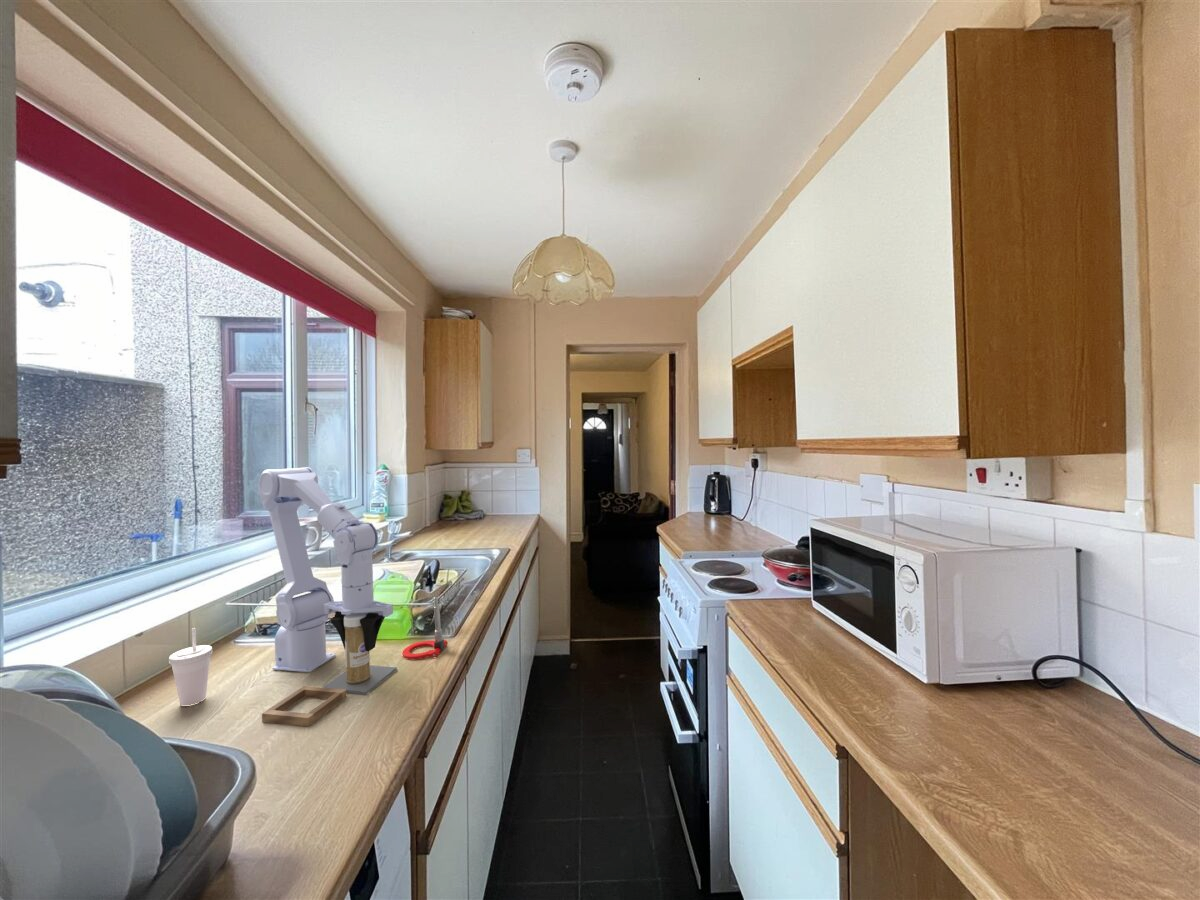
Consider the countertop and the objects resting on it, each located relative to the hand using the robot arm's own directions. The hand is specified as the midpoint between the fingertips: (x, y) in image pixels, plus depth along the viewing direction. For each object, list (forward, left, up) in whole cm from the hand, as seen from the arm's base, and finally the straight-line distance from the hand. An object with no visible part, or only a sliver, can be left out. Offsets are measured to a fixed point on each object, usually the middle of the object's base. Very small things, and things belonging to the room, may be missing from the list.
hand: (359, 648), depth 98 cm
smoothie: (-27, -12, -7) cm, 30 cm away
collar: (-3, -11, -7) cm, 13 cm away
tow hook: (+6, +14, -7) cm, 17 cm away
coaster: (0, 0, -7) cm, 7 cm away
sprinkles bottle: (0, -1, -6) cm, 6 cm away
